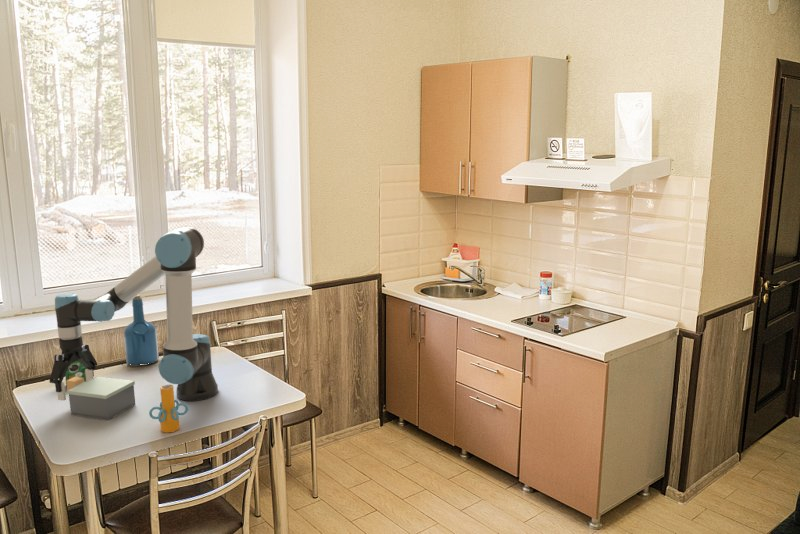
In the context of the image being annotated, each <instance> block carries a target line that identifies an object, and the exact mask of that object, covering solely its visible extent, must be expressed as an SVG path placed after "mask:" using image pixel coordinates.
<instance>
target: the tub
mask: <svg viewBox="0 0 800 534" xmlns="http://www.w3.org/2000/svg"><path fill="white" fill-rule="evenodd" d="M134 385H135V384H134ZM134 385H132V386H130V387H128V388H126V389H124V390H123V391H121V392H119V393H117V394H115V395H113V396H111V397H109V398H107V399H102V398H94V397H87V396H79V395H71V394H68V398H69V399H68V400H69V406H70V407H69V408H70V415H71V416H76V417H83V418H89V419H95V420H97V419H98V420H104V421H110V420H111V419H114V418H115V417H117V416H119V415H120V414H122V413H124V412H126V411H127V410H129V409H131V408H133V407H135V406H136V398H135V387H134Z"/></svg>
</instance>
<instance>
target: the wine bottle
mask: <svg viewBox="0 0 800 534" xmlns="http://www.w3.org/2000/svg"><path fill="white" fill-rule="evenodd" d="M131 302H132V315H133V319H132V320H133V321H132V322H131V323H128V325H126V327H125V328H124V330H123V341H124V353H125V361H126V364H128V365H129V364H131V365H130V366H132V365H140V364H148V363H149V365H151V364H150V363H152V364H154V363H156V362H157V361H158V360H159V356H160V355H159V346H158V336H157V335H158V334H157V327H156V326H155V325H154V324H153V323H152V322H149V321H147V320H146V319H145V313H144V303H143V298H142V297H141V295H140V294H139V295H137V296H136V297H135V298H133V299H132V300H131ZM157 359H158V360H157ZM155 361H156V362H155ZM153 362H154V363H153Z"/></svg>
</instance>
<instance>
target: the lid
mask: <svg viewBox="0 0 800 534" xmlns="http://www.w3.org/2000/svg"><path fill="white" fill-rule="evenodd" d="M135 384H136V381H135V380H128V379H120V378H112V377H110V378H109V377H104V376H103V377H102V376H96V377H93V379H91V380H89V381H87V382H86V381H84V378H81V377H73V378H71V379H69V380H67V385H66V388H67V390H66V393H67V395H69V394H71V395H79V396H87V397H94V398H102V399H107V398H109V397H111V396H113V395H115V394H117V393H119V392H121V391H123V390H124V389H126V388H128V387H130V386H132V385H135Z"/></svg>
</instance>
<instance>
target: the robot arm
mask: <svg viewBox="0 0 800 534" xmlns="http://www.w3.org/2000/svg"><path fill="white" fill-rule="evenodd" d="M154 247H155V248H154V256H153V257H152V258H151V259H149V260H148V261H147V262H145V263H144V264H143V265H141V266H140V267H138V268H137V270H135V271H133V272H132V273H131V274H130V275H128V276H127V277H126V278H124V279H123V280H122V281H120V282H119V283H118V284H116V285H115V286H114V287H113V288H111V289H109V291H108V292H106V293H104V294H102V295H100V296H98V297H96V298H94V299H79V296H78V294H77V293H71V292H68V293H61V294H59V295H57V296H55V298H54V312H55V316H56V317H55V318H56V325H57V326H56V327H57V336H58V344H59V349H60V350H61V353H60V354H54V357H53V358H54V362H53V367H52V370H51V373H50V377H49V383H50V384H54V386H55V392H56V393H57V400H59V401H67V398H66V389H65V382H63V380H64V378H65V374H66V371H67V369H68V367H69V366H70V365H71V363H74V362H75V361H78V360H79V361H80V362H81V363H82V364H83V365H84V366H85V367H86V368H88V369H85V374H86V382H87V381H89V380H91V379H93V378H95V377H94V376H95V373H94V370H95V369H96V368H97V366H98V362H97V360H96V359H95V356H94V355H93V353H92V351H91V350H90V345H89V344H84V342H83V336H82V333H83V331H82V322H100V323H101V322H109V321H111V320H112V319H113V317H114V316H115V312H117V311H118V312H119V311H120V310H122V309H123V308H125V306H126V305H127V304H128V303H130V301H131V302H132V300H133V298H135V297H136V296H137V295H140V294H141V293H143V292H144V291H145V290H147V288H149V287H150V286H153V284H155V283H156V282H157V281H159V280H160V279H161V278H162V277H164V276H165V299H166V300H165V301H166V303H165V304H166V333H167V335H166V337H167V338H166V339H167V340H166V341H165V342H164V343H163V344H162V353H163V355H162V358H161V359H160V361H159V364H158V372H159V375H160V376H161V378H162V379H163V380H165V381H166V382H167V383H168V384H171V385H177V386H176V397H177V399H180V400H182V401H190V402H191V401H194V402H195V401H203V400H207V399H209V398H213V397H214V396H215V395H217V394H218V392H219V387H218V386H219V385H218V383H217V381H216V379H215V377H214V374H213V369H212V366H213V365H212V354H211V353H212V351H211V345H212V344H211V342H210V341H211V339H210V336H208V335H207V334H201V333H194V330H193V328H194V326H193V293H192V292H193V288H192V283H193V282H192V281H193V280H192V279H193V278H192V276H193V275H192V274H193V273H194V271H196V270H197V263H196V262H197V259H196V258H197V257H198V256H200V254H201V253H202V252H203V250H204V248H205V240H204V237H203V235H202V234H201V233H200V231H199V230H197V229H196V228H193V227H192V226H191V227H190V226H186V227H185V226H184V227H180V228H177V229H174V230H171V231H168V232H166V233H164V234H163V235H162V236H161V237H159V238H158V240H157V242H156V244H155V245H154ZM82 352H83V354H84V355H85V356H84V355H82ZM85 357H86V358H85ZM65 361H66V362H65Z"/></svg>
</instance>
